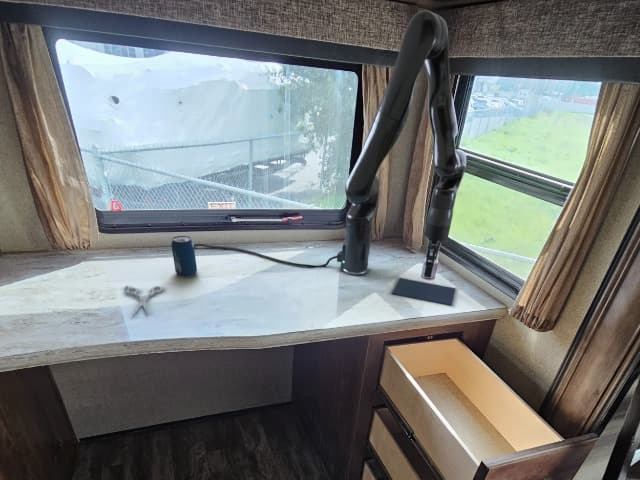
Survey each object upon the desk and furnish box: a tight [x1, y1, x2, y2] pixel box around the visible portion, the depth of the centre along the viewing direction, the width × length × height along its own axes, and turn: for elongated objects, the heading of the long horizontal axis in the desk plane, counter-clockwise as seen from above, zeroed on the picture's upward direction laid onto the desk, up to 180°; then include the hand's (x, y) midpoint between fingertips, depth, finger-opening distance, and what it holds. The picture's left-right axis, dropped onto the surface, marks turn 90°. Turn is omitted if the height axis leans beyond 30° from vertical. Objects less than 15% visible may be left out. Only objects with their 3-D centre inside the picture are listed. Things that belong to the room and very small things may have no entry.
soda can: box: [170, 235, 198, 278], centre depth 142 cm, size 7×7×12 cm
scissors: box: [125, 285, 163, 316], centre depth 127 cm, size 11×1×20 cm
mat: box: [391, 277, 456, 307], centre depth 148 cm, size 20×14×1 cm
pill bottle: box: [420, 253, 440, 281], centre depth 142 cm, size 5×5×8 cm
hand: (428, 273), depth 144 cm, fingers closed on pill bottle, 4 cm apart
